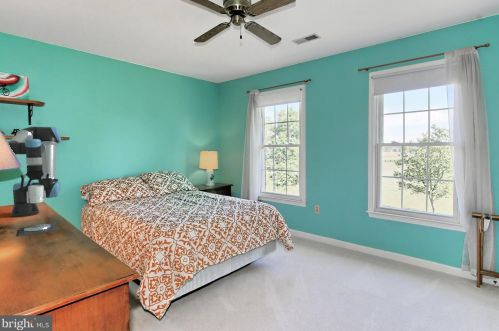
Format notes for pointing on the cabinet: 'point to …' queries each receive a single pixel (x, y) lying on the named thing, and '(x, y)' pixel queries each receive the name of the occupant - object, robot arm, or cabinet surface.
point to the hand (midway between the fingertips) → (36, 201)
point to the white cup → (36, 193)
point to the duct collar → (37, 229)
